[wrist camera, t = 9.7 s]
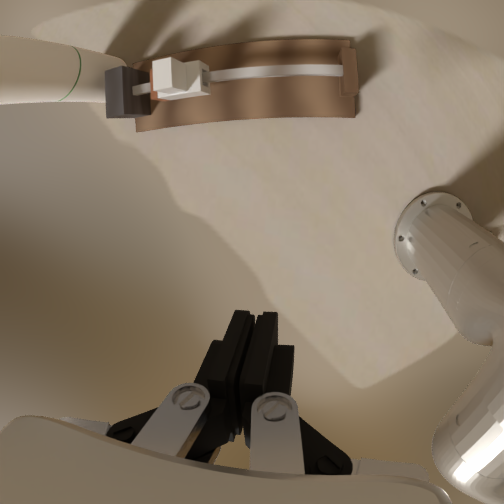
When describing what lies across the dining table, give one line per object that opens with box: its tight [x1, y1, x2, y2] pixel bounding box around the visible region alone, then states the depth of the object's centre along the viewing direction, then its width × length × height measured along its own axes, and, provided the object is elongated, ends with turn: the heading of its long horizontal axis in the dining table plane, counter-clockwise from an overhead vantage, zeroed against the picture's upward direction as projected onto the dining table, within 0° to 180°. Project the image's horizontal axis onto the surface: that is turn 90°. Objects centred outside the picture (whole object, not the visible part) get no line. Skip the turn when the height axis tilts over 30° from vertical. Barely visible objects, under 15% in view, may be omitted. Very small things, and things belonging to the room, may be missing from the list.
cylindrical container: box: [0, 35, 127, 104], centre depth 25 cm, size 7×7×25 cm
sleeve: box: [152, 57, 211, 100], centre depth 29 cm, size 5×4×8 cm
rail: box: [105, 39, 359, 132], centre depth 31 cm, size 28×10×8 cm, turn 93°
